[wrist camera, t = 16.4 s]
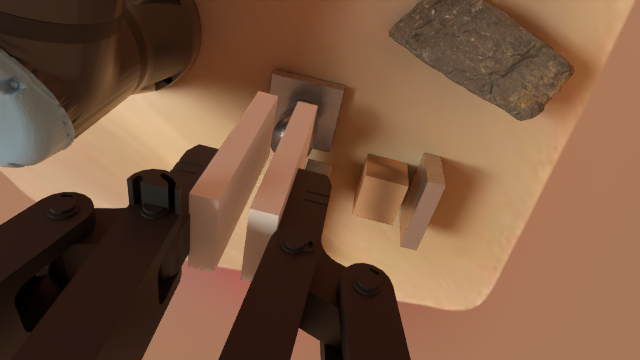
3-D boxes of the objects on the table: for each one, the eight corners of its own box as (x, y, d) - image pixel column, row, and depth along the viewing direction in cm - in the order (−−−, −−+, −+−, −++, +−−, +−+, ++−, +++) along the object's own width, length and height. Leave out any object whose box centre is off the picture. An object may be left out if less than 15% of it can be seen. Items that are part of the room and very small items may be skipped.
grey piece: (261, 182, 55) (248, 210, 50) (275, 69, 46) (261, 90, 41) (414, 218, 55) (416, 250, 50) (459, 112, 46) (467, 138, 41)
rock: (611, 19, 35) (558, 131, 38) (569, 20, 41) (526, 116, 44) (415, -36, 34) (379, 84, 37) (403, -26, 40) (373, 76, 44)
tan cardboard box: (355, 190, 54) (352, 214, 50) (367, 152, 50) (365, 175, 46) (392, 200, 54) (392, 225, 50) (407, 163, 50) (408, 186, 46)
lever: (254, 243, 58) (242, 275, 53) (284, 97, 44) (271, 123, 40) (304, 256, 58) (296, 290, 53) (348, 116, 45) (343, 143, 40)
